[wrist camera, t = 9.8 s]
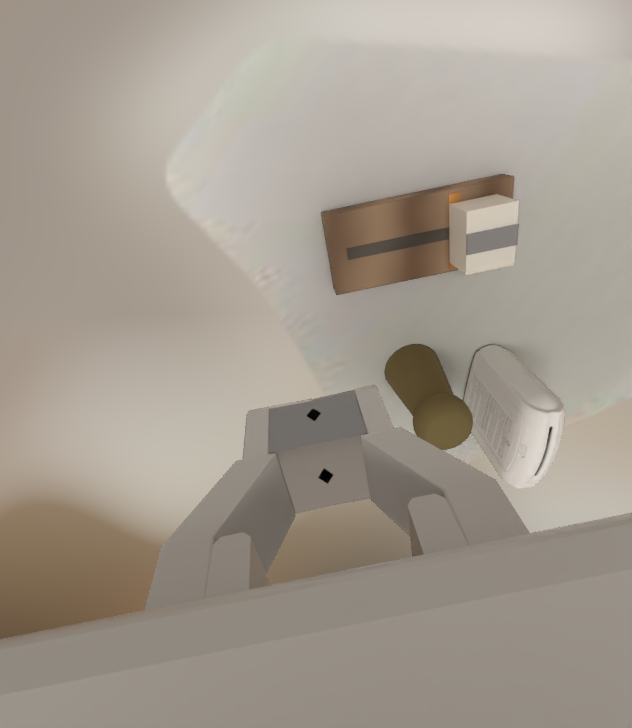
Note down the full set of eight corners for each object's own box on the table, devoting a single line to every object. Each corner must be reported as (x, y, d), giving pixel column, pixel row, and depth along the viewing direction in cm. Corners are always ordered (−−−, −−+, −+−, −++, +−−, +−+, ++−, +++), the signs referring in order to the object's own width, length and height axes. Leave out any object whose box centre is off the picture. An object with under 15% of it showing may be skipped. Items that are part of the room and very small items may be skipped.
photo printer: (490, 417, 49) (551, 498, 38) (456, 419, 49) (508, 501, 38) (510, 342, 44) (587, 411, 33) (472, 344, 43) (537, 415, 33)
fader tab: (496, 193, 33) (520, 201, 30) (493, 253, 36) (515, 265, 33) (449, 204, 33) (467, 212, 30) (449, 262, 36) (466, 275, 33)
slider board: (502, 173, 35) (515, 176, 33) (498, 253, 38) (509, 259, 37) (320, 212, 35) (323, 216, 33) (333, 287, 39) (336, 295, 37)
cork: (394, 340, 42) (429, 402, 33) (446, 348, 43) (495, 410, 34) (378, 388, 45) (406, 457, 36) (427, 394, 46) (468, 463, 37)
